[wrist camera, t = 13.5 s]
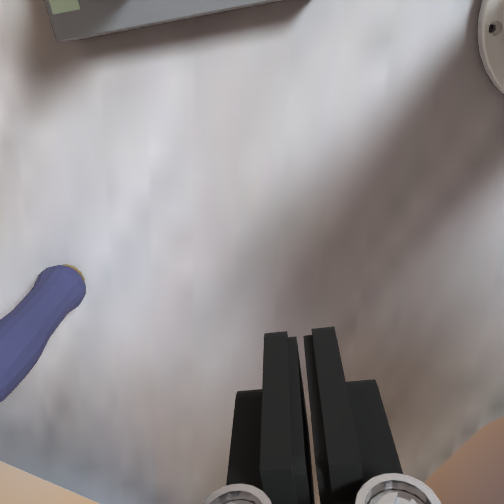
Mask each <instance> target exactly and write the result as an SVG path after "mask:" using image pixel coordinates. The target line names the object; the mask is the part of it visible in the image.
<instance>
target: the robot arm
mask: <svg viewBox="0 0 504 504" xmlns="http://www.w3.org/2000/svg"><path fill="white" fill-rule="evenodd" d="M491 24H492V25H493V27H494V28H493V30H492V32H489V30H488V29H489V26H490V25H491ZM478 44H479V52H480V56H481V59H482V62H483V65H484V68H485V71H486V72H487V74H488V76H489V77H490V79H491V81H492V82H493V84H494V85H495V86H496V87H497V88H498V89H499V90H500V91H501V92H502V93H503V94H504V0H482V4H481V8H480V13H479V20H478ZM303 337H304V347H305V358H306V368H307V379H308V390H309V400H310V411H311V422H312V432H313V443H314V453H315V463H316V472H317V480H318V488H319V496H320V504H441V502H440V500H439V499H438V497H437V496H436V495H435V493H434V492H433V491H432V489H430V488H429V487H428V486H427V485H425V484H424V483H423V482H422V481H420V480H418V479H415V478H413V477H411V476H409V475H403V472H402V469H401V465H400V462H399V458H398V455H397V451H396V448H395V444H394V441H393V438H392V434H391V431H390V427H389V424H388V420H387V417H386V413H385V410H384V407H383V403H382V400H381V396H380V393H379V389H378V386H377V383H376V381H375V379H374V380H363V381H351V382H345V377H344V372H343V367H342V362H341V357H340V352H339V348H338V343H337V338H336V333H335V328H334V327H326V328H316V329H312V335H307V336H303ZM201 504H315V500H314V488H313V477H312V465H311V453H310V441H309V431H308V422H307V414H306V406H305V399H304V391H303V383H302V376H301V368H300V360H299V353H298V345H297V338H296V337H288V335H287V331H286V332H276V333H266V334H264V357H263V386H262V389H260V390H249V391H238V392H237V394H236V399H235V409H234V418H233V428H232V437H231V446H230V456H229V465H228V474H227V484H226V486H224V487H222V488H219V489H217V490H216V491H214V492H213V493H211V494H210V495H208V497H207V498H206V499H205V500H204V501H203V502H202V503H201Z"/></svg>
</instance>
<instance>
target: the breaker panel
mask: <svg viewBox="0 0 504 504" xmlns="http://www.w3.org/2000/svg"><path fill="white" fill-rule="evenodd" d="M44 1H45V4H46V8H47V11H48V14H49V17H50V21H51V24H52V27H53V30H54V34H55V37H56V40H57V41H73V40H79V39H84V38H90V37H95V36H100V35H105V34H110V33H115V32H121V31H126V30H131V29H136V28H141V27H147V26H152V25H157V24H162V23H167V22H172V21H178V20H183V19H188V18H193V17H198V16H204V15H209V14H214V13H219V12H224V11H229V10H235V9H240V8H245V7H250V6H255V5H261V4H266V3H271V2H276V1H281V0H44Z"/></svg>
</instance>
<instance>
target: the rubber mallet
mask: <svg viewBox="0 0 504 504" xmlns="http://www.w3.org/2000/svg"><path fill="white" fill-rule="evenodd" d="M84 280H85V279H84V277H83V275H82V273H81V272H80V271H79V270H78V269H77V268H75V267H73V266H70V265H67V264H66V265H58V266H53V267H49V268H46V269H45V270H44V271H42V272H41V273H40V275H39V276H38V278H37V280H36V282H35V284H34V287H33V288H32V290H31V291H30V292H29V293H28V294H27V295H26V296H25V297H24V299H23V300H22V301H21V302H20V303H19V304H18V305H17V306H16V307H15V308H14V309H13V310H12V311H11V312H10V313H9V314H8V315H6V316H5V317H3V318H2V319H1V320H0V402H1V401H3V400H4V399H5V398H6V397H7V396H8V395H9V394H10V393H11V392H12V391H13V390H14V389H15V388H16V387H17V385H18V384H19V383H20V382H21V381H22V380H23V379H24V378H25V376H26V375H27V374H28V373H29V372H30V370H31V369H32V368H33V366H34V365H35V364H36V362H37V361H38V359H39V357H40V356H41V354H42V352H43V350H44V348H45V346H46V344H47V342H48V340H49V338H50V336H51V335H52V334H53V332H54V331H55V330H56V328H57V327H58V325H59V324H60V323H61V321H62V320H63V319H64V317H65V316H66V315H67V314H68V313H69V312H70V311H72V310H73V309H75V308H76V307H78V306H79V304H80V303H81V302H82V300H83V298H84V296H85V294H86V286H85V282H84Z"/></svg>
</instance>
